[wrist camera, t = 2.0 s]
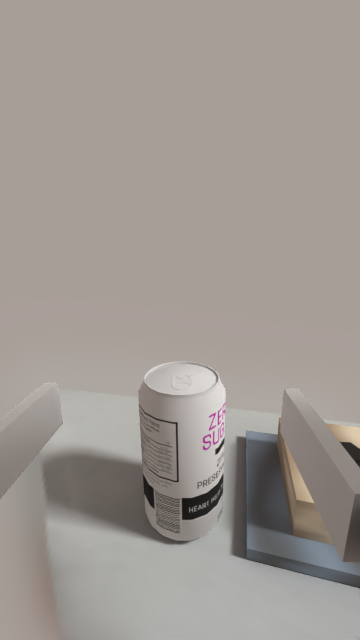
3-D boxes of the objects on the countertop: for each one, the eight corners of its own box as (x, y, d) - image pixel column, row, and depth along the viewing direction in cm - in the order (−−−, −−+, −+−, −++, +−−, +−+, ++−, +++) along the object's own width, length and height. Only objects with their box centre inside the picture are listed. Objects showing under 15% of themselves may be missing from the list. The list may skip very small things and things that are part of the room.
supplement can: (149, 474, 31) (143, 359, 28) (217, 473, 31) (219, 358, 28) (139, 547, 23) (128, 399, 20) (229, 546, 23) (234, 398, 20)
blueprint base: (407, 460, 33) (415, 425, 31) (546, 634, 18) (571, 578, 16) (245, 437, 37) (247, 405, 36) (246, 559, 22) (249, 511, 21)
